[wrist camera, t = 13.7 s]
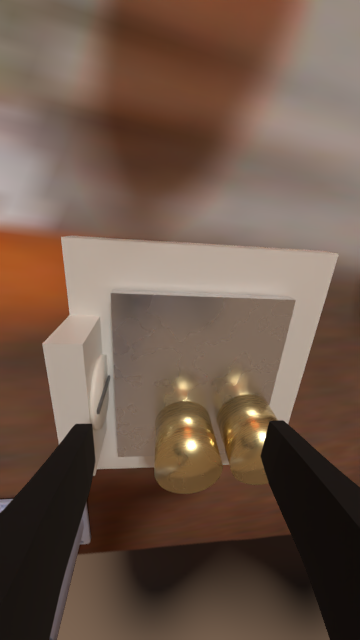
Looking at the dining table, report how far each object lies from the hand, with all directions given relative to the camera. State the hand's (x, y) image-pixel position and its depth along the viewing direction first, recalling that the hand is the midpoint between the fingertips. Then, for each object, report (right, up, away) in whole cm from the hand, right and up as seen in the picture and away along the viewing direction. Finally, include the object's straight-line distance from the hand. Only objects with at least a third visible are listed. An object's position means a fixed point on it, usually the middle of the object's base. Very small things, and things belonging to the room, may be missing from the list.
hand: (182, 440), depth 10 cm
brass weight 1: (0, -3, +9) cm, 10 cm away
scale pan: (+1, 0, +9) cm, 9 cm away
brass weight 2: (+5, -3, +10) cm, 11 cm away
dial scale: (+1, +1, +11) cm, 11 cm away
